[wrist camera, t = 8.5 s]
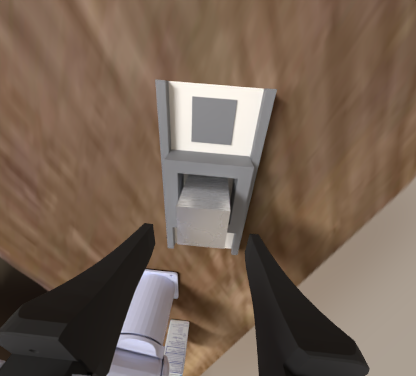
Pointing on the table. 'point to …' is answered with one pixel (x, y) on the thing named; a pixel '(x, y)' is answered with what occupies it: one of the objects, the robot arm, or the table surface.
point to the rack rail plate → (211, 144)
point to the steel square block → (203, 211)
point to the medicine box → (176, 346)
